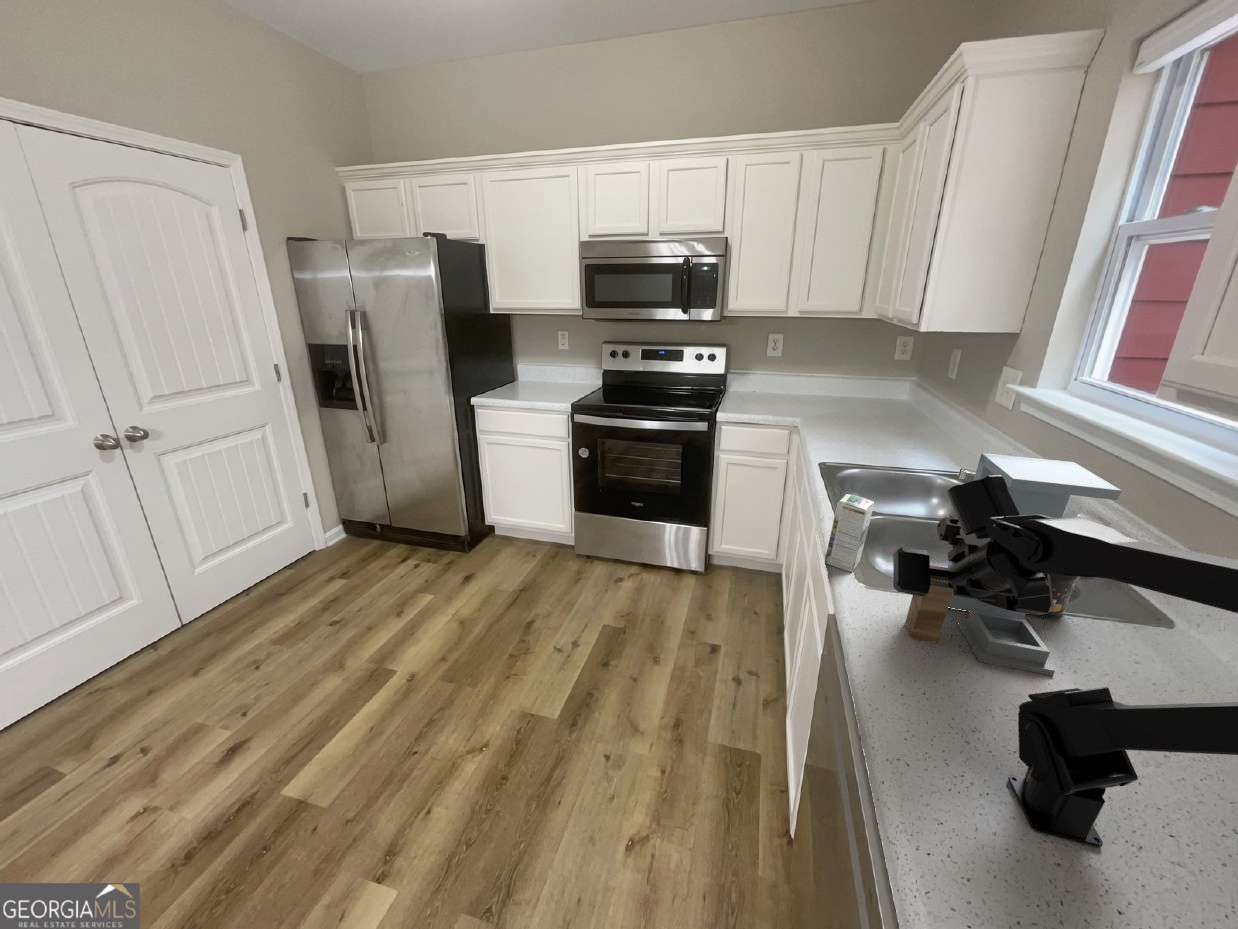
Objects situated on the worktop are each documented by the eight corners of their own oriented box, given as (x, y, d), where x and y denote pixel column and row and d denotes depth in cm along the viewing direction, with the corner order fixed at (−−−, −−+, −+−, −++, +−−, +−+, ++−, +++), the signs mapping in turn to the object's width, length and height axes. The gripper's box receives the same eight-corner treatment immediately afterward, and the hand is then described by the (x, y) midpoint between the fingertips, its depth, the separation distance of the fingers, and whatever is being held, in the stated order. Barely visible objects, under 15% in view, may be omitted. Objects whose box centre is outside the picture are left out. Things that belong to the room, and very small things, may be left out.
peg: (937, 642, 83) (956, 581, 79) (910, 637, 84) (928, 576, 80) (930, 627, 86) (948, 567, 82) (905, 623, 87) (921, 563, 83)
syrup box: (832, 553, 110) (844, 492, 104) (861, 562, 106) (875, 500, 101) (824, 563, 105) (836, 500, 100) (853, 573, 102) (867, 509, 97)
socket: (1053, 676, 76) (1060, 657, 75) (978, 661, 79) (984, 643, 78) (1023, 634, 85) (1029, 617, 84) (957, 622, 88) (962, 606, 87)
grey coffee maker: (1051, 660, 80) (1121, 490, 69) (959, 643, 83) (1013, 478, 73) (1017, 614, 90) (1074, 462, 80) (937, 601, 94) (981, 452, 83)
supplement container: (998, 609, 92) (1018, 552, 88) (989, 580, 101) (1007, 527, 97) (1070, 627, 87) (1095, 568, 83) (1055, 596, 96) (1077, 541, 92)
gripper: (1071, 518, 64) (1008, 551, 78) (912, 498, 69) (879, 532, 83) (1084, 605, 60) (1015, 623, 74) (913, 578, 65) (878, 600, 79)
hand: (944, 591), depth 77 cm, fingers open, 9 cm apart
